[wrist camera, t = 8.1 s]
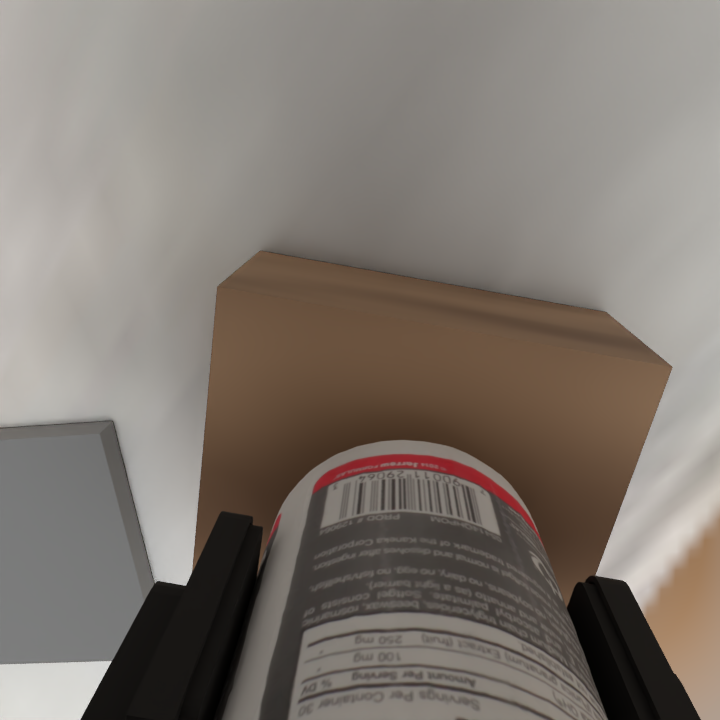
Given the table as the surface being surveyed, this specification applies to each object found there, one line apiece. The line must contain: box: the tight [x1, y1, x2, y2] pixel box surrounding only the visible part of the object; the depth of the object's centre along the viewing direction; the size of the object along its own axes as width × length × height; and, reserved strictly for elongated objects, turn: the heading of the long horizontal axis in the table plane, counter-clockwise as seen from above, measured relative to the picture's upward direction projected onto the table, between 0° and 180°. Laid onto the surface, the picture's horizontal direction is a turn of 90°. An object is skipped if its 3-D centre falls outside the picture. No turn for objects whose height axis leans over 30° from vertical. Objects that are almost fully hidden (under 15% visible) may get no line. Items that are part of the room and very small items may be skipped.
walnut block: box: [192, 251, 672, 608], centre depth 15 cm, size 9×9×4 cm
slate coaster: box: [0, 421, 154, 664], centre depth 19 cm, size 8×8×1 cm
